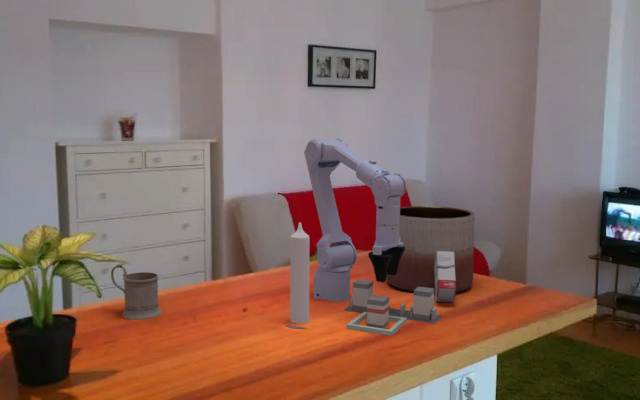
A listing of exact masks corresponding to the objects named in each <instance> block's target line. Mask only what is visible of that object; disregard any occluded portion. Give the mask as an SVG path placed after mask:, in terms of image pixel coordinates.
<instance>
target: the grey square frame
mask: <svg viewBox="0 0 640 400" xmlns="http://www.w3.org/2000/svg"><path fill="white" fill-rule="evenodd" d="M365 319H367V312H363V313H359V315H358V316H356V317H355V318H353V319H352V320H351V321H349V322H348V323H346V330H351V331H357V332H364V333H371V334H378V335H383V336H389V337H392V336H394V334H395V333H397V332H398V331H399V330H400V329H401V328H402V327H403V326H404V325H405V324H406V323H407V322H408V320H407V318H403V317H396V316H389V322H393V323H394V324H393V325H392V326H390V328H389V329H388V328H387V329H386V328H384V329H382V328H376V327H369V326H367V325H361V324H360V323H361V322H363V321H364V320H365Z"/></svg>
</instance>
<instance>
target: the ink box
mask: <svg viewBox="0 0 640 400" xmlns="http://www.w3.org/2000/svg"><path fill="white" fill-rule="evenodd" d="M434 273H435V294H434V301H435V302H436V303H437V302H438V303H454V302H455V298H456V293H457V292H456V277H455V260H454V252H447V251H437V252H436V257H435V262H434Z"/></svg>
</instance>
